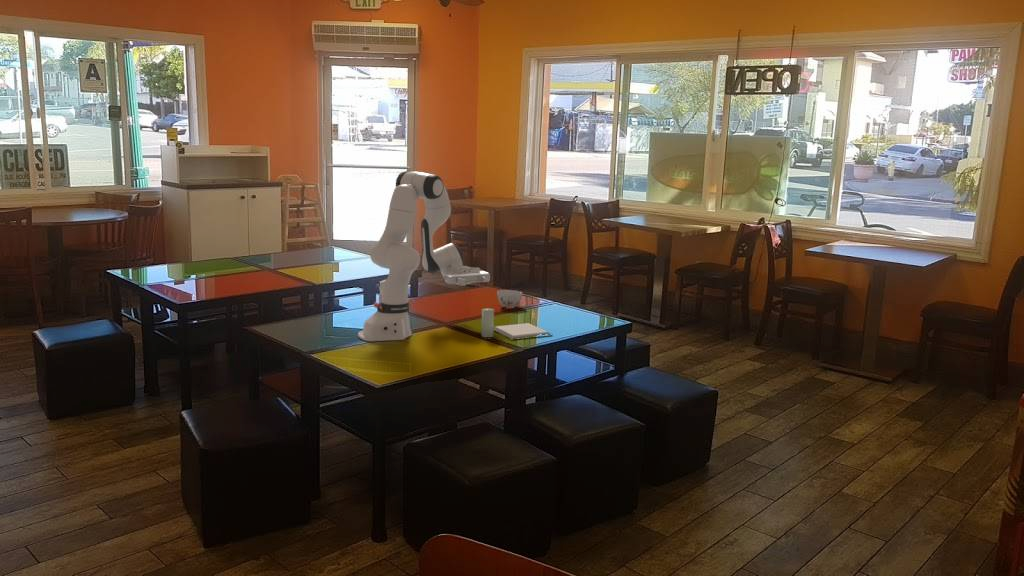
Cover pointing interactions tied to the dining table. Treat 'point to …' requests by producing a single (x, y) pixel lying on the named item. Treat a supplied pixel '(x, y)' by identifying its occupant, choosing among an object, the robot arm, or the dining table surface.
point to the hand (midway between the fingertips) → (474, 281)
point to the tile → (519, 330)
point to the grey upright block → (487, 322)
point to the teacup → (509, 297)
